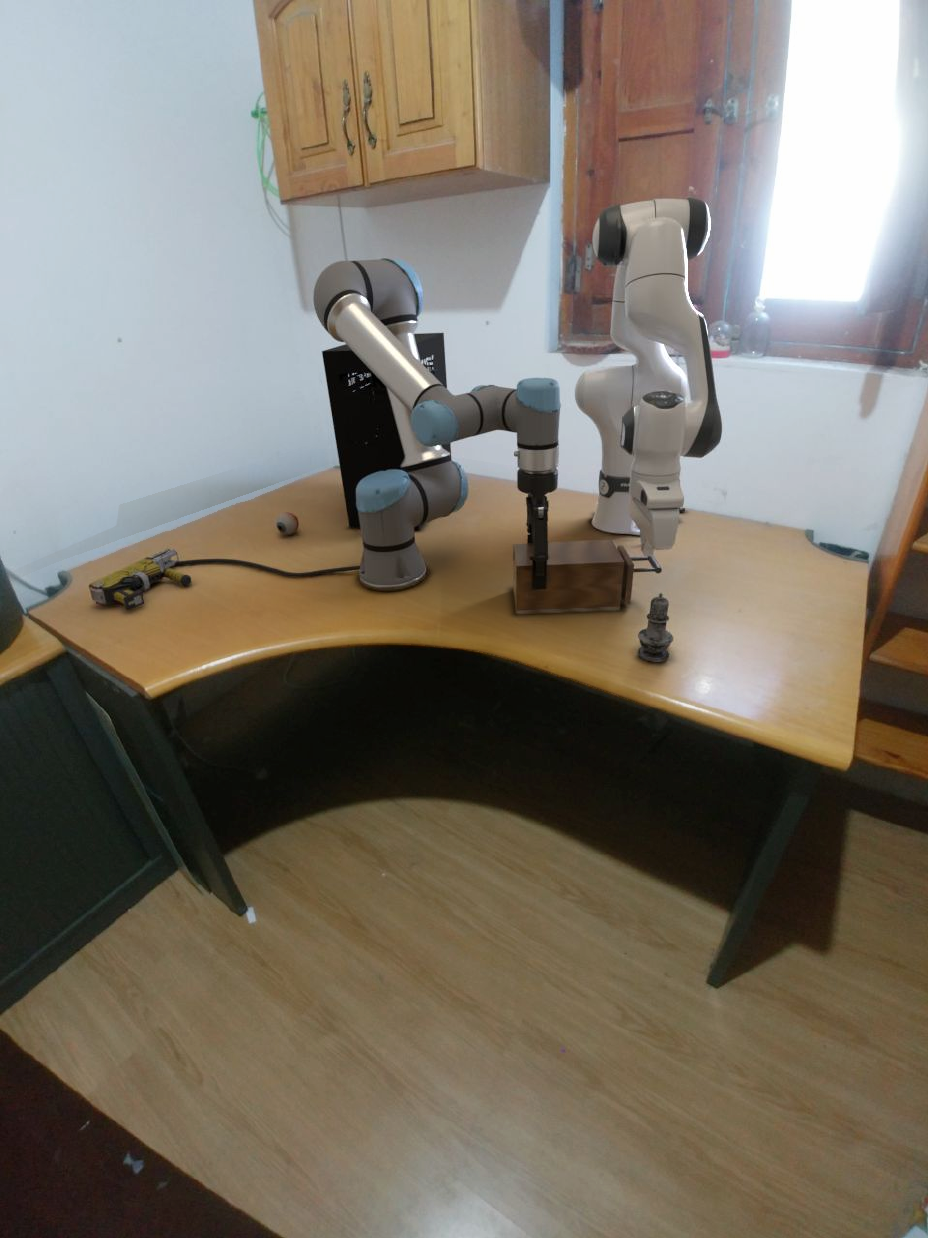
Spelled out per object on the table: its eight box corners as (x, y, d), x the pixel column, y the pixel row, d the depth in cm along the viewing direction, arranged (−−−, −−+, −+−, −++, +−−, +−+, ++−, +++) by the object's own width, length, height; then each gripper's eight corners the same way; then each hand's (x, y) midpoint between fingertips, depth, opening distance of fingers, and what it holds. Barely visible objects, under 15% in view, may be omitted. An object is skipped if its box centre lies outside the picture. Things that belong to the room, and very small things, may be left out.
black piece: (419, 530, 162) (402, 348, 140) (349, 527, 167) (321, 351, 144) (453, 486, 194) (443, 332, 171) (393, 485, 198) (376, 334, 176)
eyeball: (273, 537, 164) (268, 516, 161) (287, 528, 169) (282, 508, 166) (291, 539, 161) (286, 518, 158) (305, 530, 166) (301, 510, 163)
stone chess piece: (672, 664, 103) (681, 602, 97) (636, 661, 104) (643, 600, 98) (669, 645, 108) (677, 585, 102) (635, 643, 109) (641, 584, 103)
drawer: (648, 581, 128) (652, 543, 124) (660, 602, 120) (665, 563, 116) (529, 585, 129) (530, 548, 125) (534, 607, 121) (534, 568, 116)
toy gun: (215, 556, 146) (165, 546, 150) (137, 598, 126) (82, 584, 130) (218, 574, 148) (168, 563, 152) (142, 617, 128) (87, 603, 132)
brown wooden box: (608, 585, 129) (612, 539, 124) (619, 610, 120) (624, 561, 115) (513, 589, 130) (512, 543, 125) (516, 614, 121) (516, 565, 115)
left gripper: (513, 452, 122) (514, 552, 133) (521, 489, 101) (522, 603, 112) (550, 451, 121) (548, 551, 132) (566, 487, 101) (562, 602, 112)
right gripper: (624, 470, 122) (619, 535, 128) (650, 502, 104) (643, 575, 111) (655, 469, 122) (649, 533, 128) (687, 501, 104) (677, 574, 110)
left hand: (536, 575), depth 122 cm, fingers closed on brown wooden box, 11 cm apart
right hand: (646, 553), depth 119 cm, fingers closed
